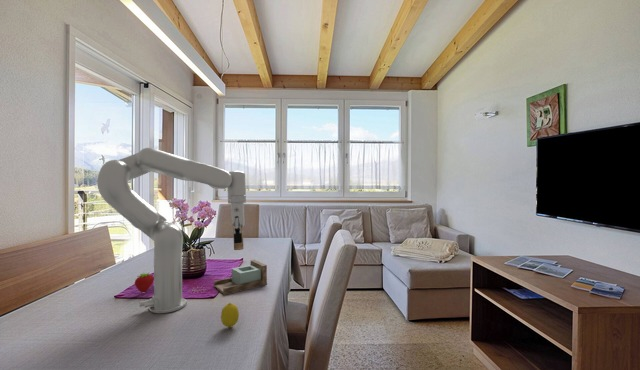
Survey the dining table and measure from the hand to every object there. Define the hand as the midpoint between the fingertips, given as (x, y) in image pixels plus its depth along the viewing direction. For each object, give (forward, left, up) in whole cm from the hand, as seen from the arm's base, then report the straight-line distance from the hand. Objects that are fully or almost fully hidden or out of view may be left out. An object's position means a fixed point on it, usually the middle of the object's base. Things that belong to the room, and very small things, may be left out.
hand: (238, 241), depth 127 cm
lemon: (-15, -29, -22) cm, 40 cm away
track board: (+4, +7, -22) cm, 23 cm away
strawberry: (-32, +24, -22) cm, 46 cm away
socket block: (+7, +7, -21) cm, 23 cm away
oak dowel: (0, 0, -3) cm, 3 cm away
